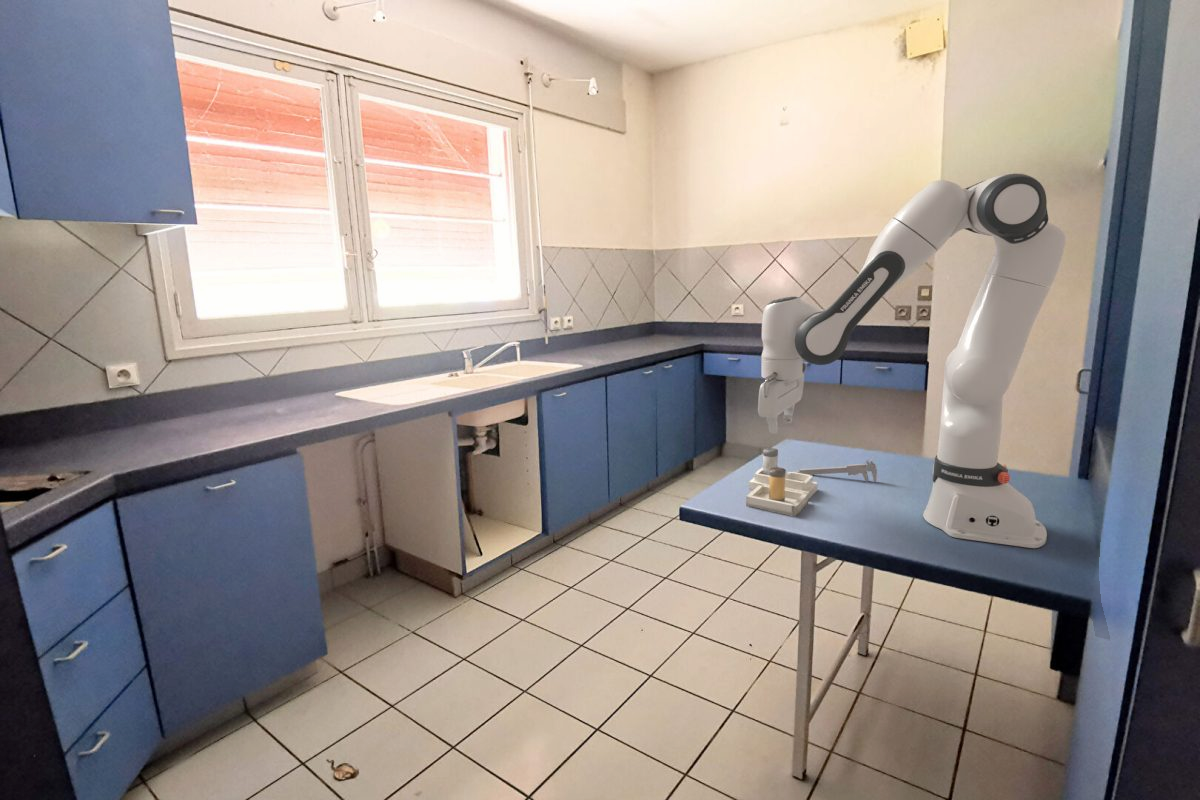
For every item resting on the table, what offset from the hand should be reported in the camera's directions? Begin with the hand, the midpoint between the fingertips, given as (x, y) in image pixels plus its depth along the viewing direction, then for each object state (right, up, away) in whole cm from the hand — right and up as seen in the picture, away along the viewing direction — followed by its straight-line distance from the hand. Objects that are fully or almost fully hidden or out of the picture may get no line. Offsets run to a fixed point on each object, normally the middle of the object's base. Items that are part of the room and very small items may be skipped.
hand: (780, 427), depth 139 cm
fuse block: (+5, -16, +14) cm, 22 cm away
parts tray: (0, -19, +5) cm, 19 cm away
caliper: (+20, -15, +20) cm, 32 cm away
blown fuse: (0, -18, +5) cm, 19 cm away
